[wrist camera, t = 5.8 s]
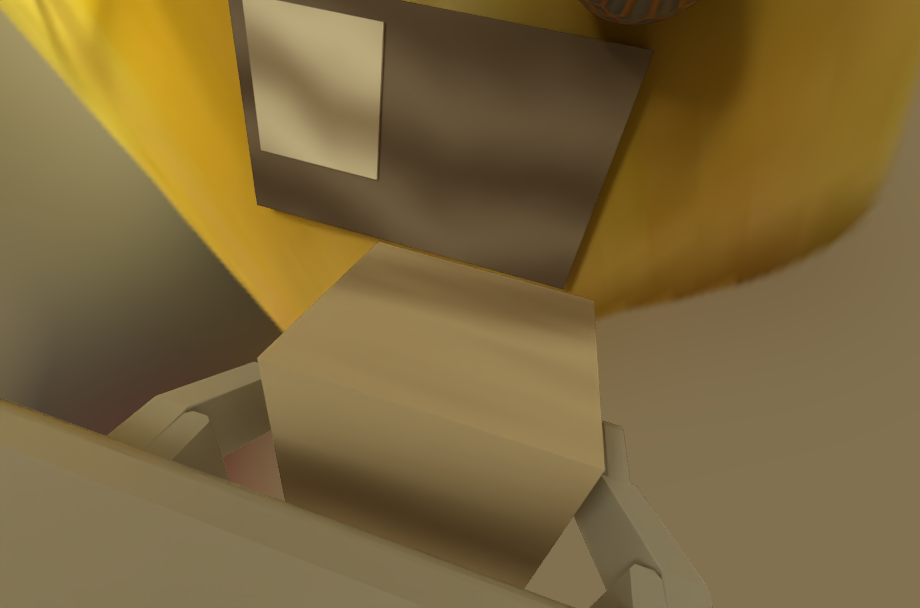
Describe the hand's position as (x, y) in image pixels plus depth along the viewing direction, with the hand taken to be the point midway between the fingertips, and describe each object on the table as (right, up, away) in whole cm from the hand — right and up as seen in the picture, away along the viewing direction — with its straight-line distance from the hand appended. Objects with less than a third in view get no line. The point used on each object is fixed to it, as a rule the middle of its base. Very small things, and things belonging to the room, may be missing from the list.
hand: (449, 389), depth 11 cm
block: (0, +1, +1) cm, 2 cm away
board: (-2, +12, +12) cm, 18 cm away
